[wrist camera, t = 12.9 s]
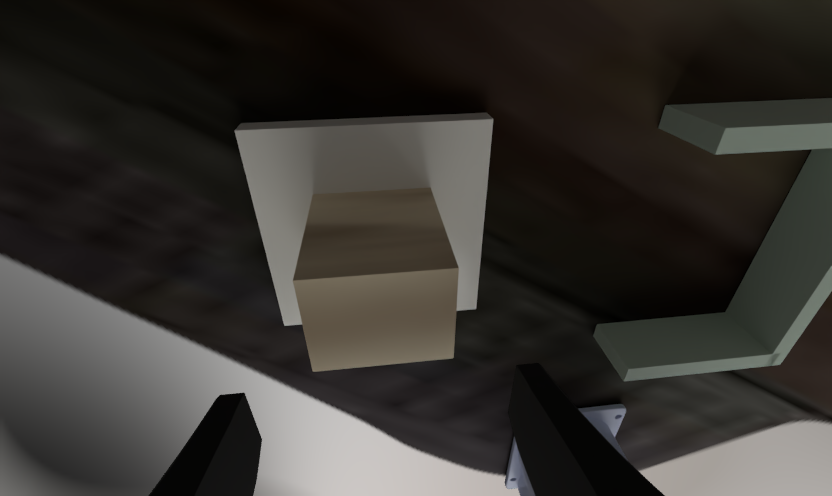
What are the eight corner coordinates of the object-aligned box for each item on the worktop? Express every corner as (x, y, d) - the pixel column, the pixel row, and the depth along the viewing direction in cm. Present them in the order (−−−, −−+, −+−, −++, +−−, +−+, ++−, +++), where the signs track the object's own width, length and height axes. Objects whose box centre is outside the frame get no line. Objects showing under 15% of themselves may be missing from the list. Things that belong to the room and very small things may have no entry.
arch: (733, 322, 26) (780, 364, 23) (593, 335, 25) (623, 381, 22) (859, 96, 19) (952, 117, 16) (665, 105, 18) (725, 128, 15)
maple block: (429, 263, 20) (453, 358, 15) (325, 271, 19) (312, 371, 14) (430, 187, 17) (458, 267, 12) (313, 194, 17) (292, 280, 12)
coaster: (471, 297, 22) (476, 308, 22) (287, 312, 21) (284, 325, 21) (486, 112, 17) (493, 119, 16) (241, 123, 16) (234, 130, 15)
